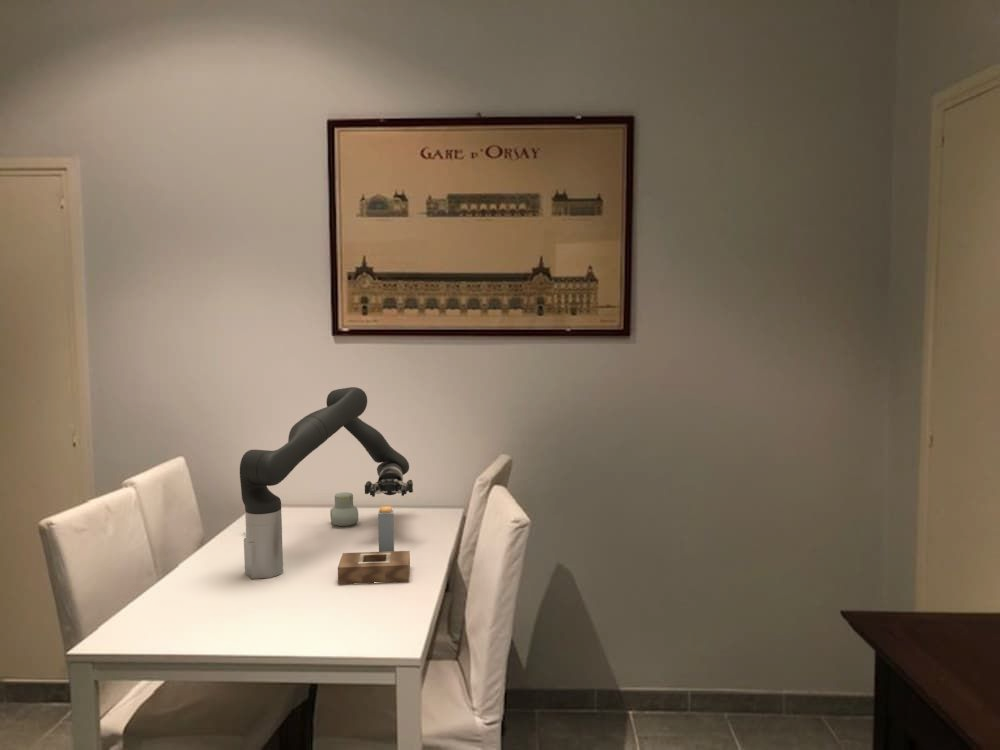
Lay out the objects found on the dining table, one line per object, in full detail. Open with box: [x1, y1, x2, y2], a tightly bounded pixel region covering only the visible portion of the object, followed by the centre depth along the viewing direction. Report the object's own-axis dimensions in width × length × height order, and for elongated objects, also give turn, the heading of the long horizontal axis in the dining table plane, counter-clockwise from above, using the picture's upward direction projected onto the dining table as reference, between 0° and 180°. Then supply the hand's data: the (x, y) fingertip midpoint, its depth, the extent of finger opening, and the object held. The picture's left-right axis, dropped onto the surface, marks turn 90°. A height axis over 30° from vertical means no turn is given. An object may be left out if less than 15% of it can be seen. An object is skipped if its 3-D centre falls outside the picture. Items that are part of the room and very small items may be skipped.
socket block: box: [337, 550, 411, 585], centre depth 211 cm, size 18×12×5 cm, turn 95°
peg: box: [377, 505, 395, 552], centre depth 223 cm, size 4×4×15 cm
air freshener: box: [329, 491, 359, 527], centre depth 261 cm, size 11×8×10 cm
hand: (387, 492), depth 233 cm, fingers open, 8 cm apart
